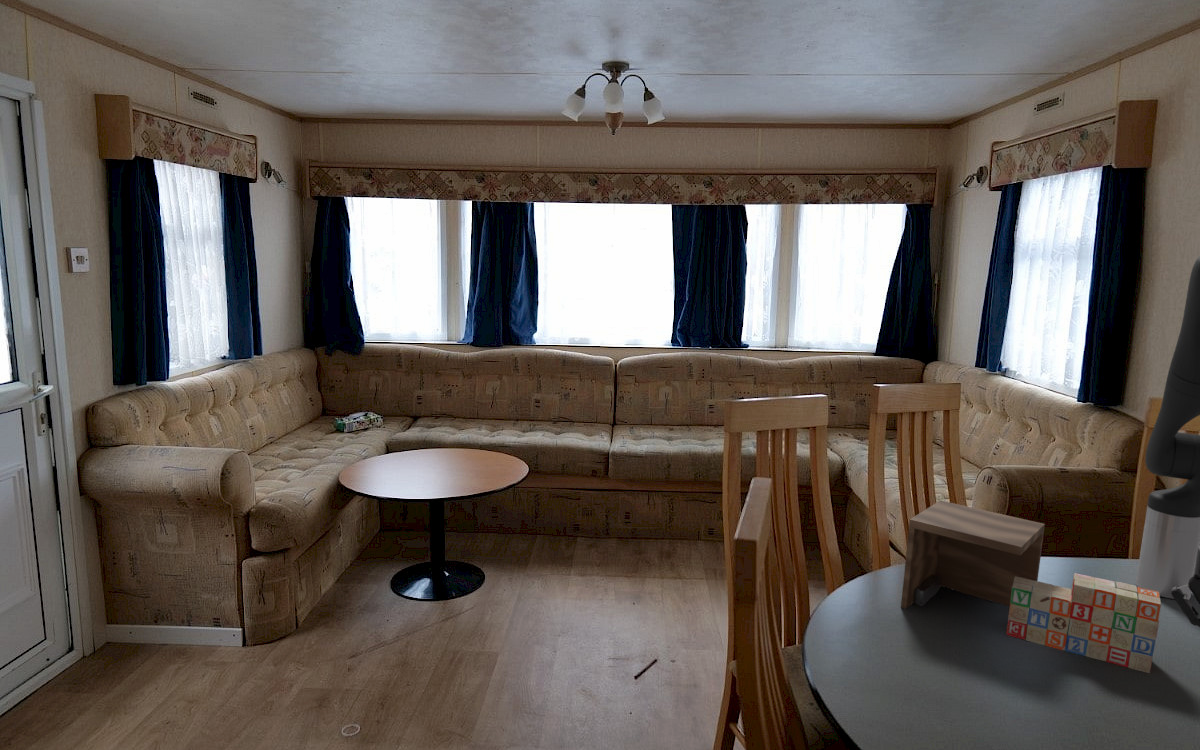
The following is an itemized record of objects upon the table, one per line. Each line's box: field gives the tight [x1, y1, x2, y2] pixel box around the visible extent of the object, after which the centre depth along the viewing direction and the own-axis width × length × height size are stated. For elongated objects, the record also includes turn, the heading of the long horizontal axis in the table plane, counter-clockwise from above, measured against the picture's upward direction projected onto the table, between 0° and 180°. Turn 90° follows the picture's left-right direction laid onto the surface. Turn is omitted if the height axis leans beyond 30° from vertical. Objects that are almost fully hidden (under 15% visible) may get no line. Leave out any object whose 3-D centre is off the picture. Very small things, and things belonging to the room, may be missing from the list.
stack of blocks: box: [1005, 572, 1162, 674], centre depth 134 cm, size 21×6×12 cm, turn 57°
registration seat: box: [913, 574, 941, 607], centre depth 152 cm, size 10×2×3 cm, turn 138°
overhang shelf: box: [900, 500, 1046, 610], centre depth 146 cm, size 17×19×18 cm
